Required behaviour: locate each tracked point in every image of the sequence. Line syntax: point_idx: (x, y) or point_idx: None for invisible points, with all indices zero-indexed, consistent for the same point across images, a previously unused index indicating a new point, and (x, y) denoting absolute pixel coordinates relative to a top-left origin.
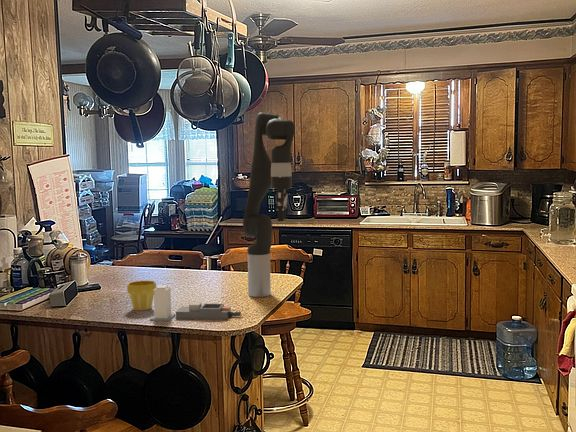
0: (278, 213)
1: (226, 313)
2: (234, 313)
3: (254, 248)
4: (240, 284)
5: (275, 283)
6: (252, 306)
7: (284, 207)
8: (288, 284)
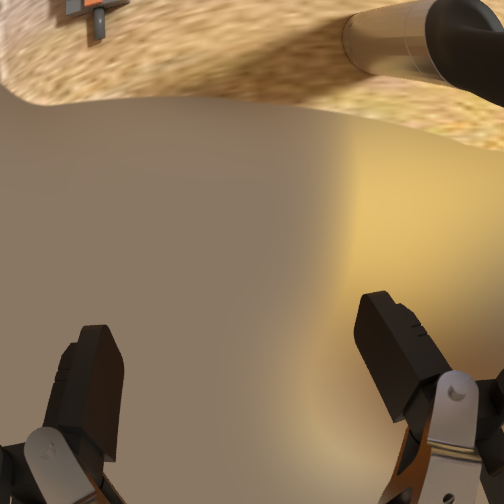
0: (49, 404)
1: (67, 14)
2: (93, 24)
3: (442, 18)
4: None
5: None
6: (226, 35)
7: (412, 427)
8: (473, 124)
